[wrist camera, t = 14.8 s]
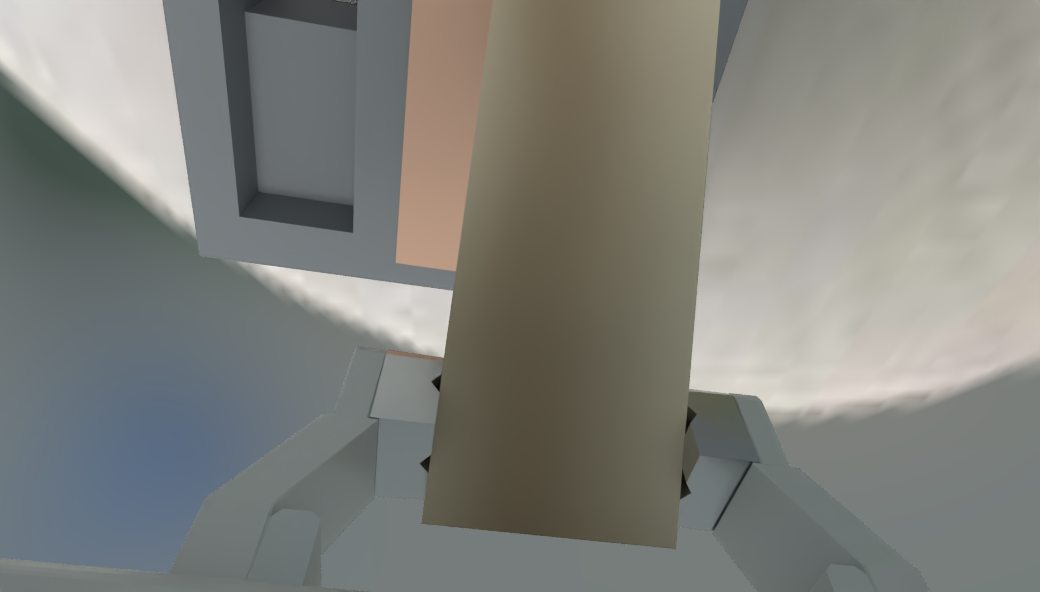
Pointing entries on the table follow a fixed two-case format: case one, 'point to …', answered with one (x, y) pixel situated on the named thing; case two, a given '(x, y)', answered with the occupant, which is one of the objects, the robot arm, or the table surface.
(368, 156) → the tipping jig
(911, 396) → the table surface
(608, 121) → the maple bar
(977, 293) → the table surface
